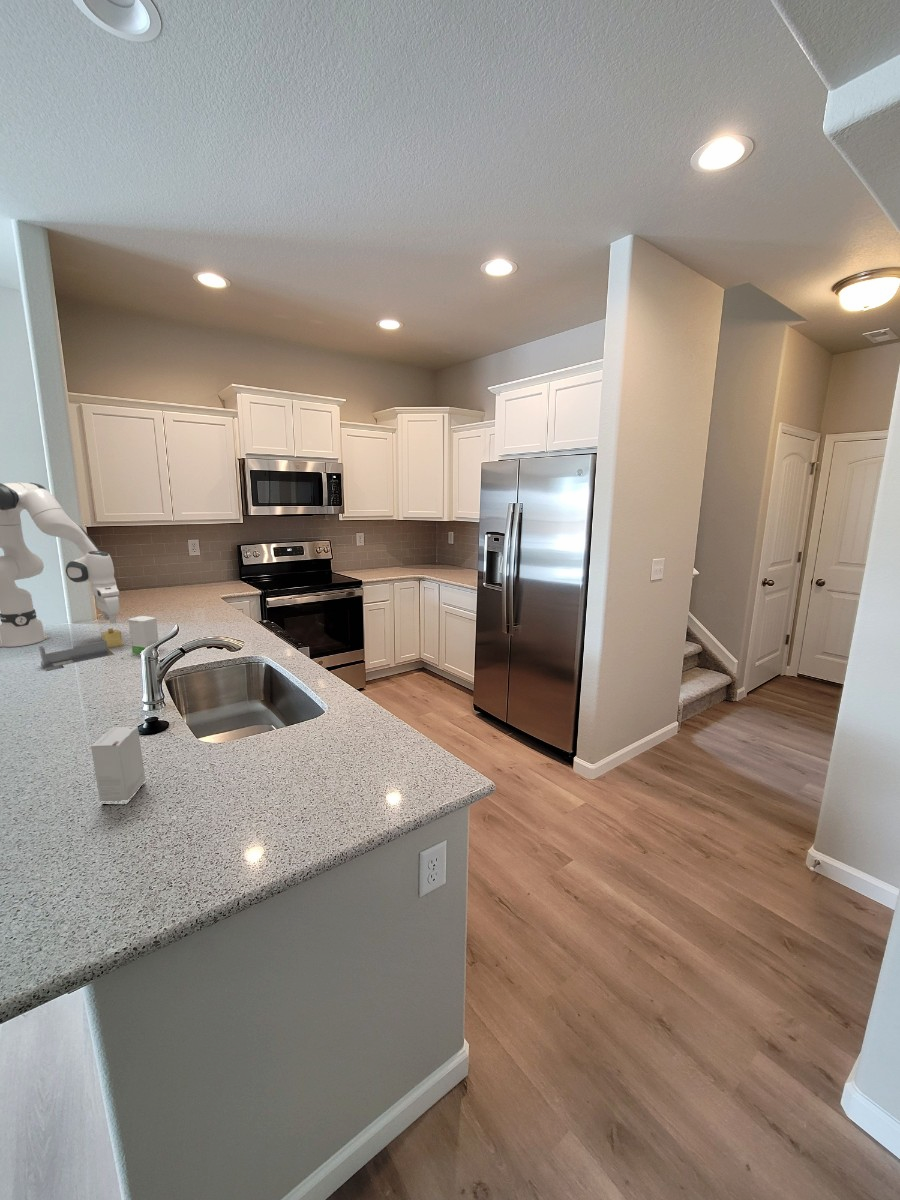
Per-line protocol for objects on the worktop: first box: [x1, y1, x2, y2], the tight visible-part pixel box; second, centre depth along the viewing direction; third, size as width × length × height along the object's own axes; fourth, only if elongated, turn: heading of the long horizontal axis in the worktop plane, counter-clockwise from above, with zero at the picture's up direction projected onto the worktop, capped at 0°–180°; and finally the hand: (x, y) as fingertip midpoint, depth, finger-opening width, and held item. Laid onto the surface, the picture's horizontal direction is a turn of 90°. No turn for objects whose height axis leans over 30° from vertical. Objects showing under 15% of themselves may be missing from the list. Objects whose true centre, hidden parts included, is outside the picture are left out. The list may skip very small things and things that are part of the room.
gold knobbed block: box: [101, 628, 124, 649], centre depth 210 cm, size 5×6×7 cm
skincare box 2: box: [127, 615, 159, 657], centre depth 201 cm, size 8×7×16 cm
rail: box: [38, 640, 115, 672], centre depth 194 cm, size 10×22×8 cm, turn 138°
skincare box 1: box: [90, 726, 146, 803], centre depth 108 cm, size 8×6×15 cm
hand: (110, 621), depth 208 cm, fingers open, 8 cm apart
